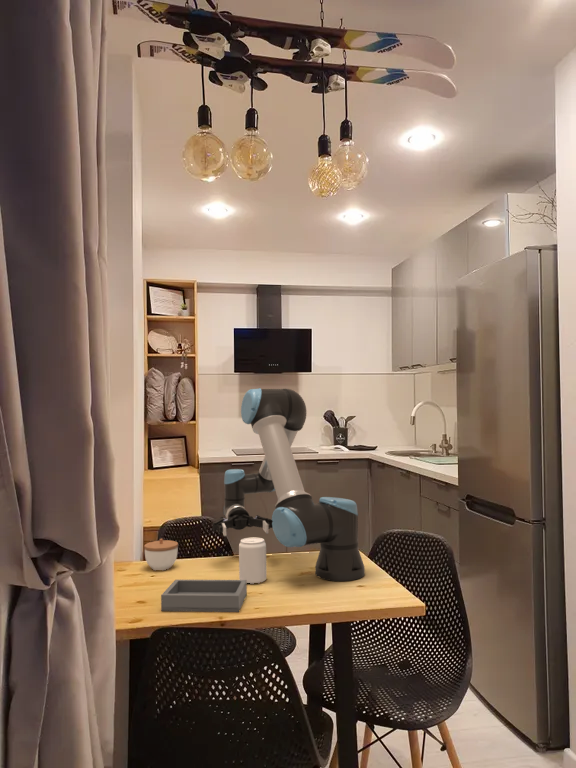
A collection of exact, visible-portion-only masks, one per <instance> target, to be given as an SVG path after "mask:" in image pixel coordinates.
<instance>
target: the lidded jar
mask: <svg viewBox="0 0 576 768" xmlns="http://www.w3.org/2000/svg"><path fill="white" fill-rule="evenodd" d="M143 547H144V548H143V549H144V557H145V558H144V559H145V561H146V564H147V565H148V566H149V567H150V568H151V570H152V569H153V571H156V570H162V571H167V570H170V569H171V568H172V566H173V565H174V564H175V562H176V561H177V558H178V551H179V550H178V549H179V542H177V541H176V540H175V541H174V540H168V539H167V540H166V539H165V540H164V538H159V540H154V541H150V542H147V543H146V544H144V546H143ZM169 568H170V569H169ZM166 569H167V570H166Z"/></svg>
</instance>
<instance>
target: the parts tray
mask: <svg viewBox="0 0 576 768" xmlns="http://www.w3.org/2000/svg"><path fill="white" fill-rule="evenodd" d="M247 585H248V584H247V580H240V579H175V580H174V581H173V582H172V583H171V584H170V585H169V586H168V587H167V588H166V589H165V590H164V591H163V592H162V594H161V596H160V599H161V600H160V606H161V608H160V610H161V612H195V613H196V612H197V613H198V612H199V613H200V612H205V613H206V612H211V613H212V612H213V611H214V612H213V613H216V612H218V613H221V612H222V613H223V612H224V613H225V612H227V613H239V612H240V611H241V608H242V607H243V604H244V602H243V601H245V600H246V597H247V595H248V594H247V593H248V592H247V591H248V587H247ZM244 599H245V600H244ZM239 610H240V611H239Z"/></svg>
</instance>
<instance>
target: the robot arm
mask: <svg viewBox="0 0 576 768" xmlns="http://www.w3.org/2000/svg"><path fill="white" fill-rule="evenodd" d="M241 401H242V402H241V408H240V413H241V419H242V422H243V423H244V424H245V425H251V429H252V432H253V433H255V434H257V435H258V436H259V441H260V443H261V446H262V450H263V453H264V457H263V459H262V461H261V465H260V467H259V470H258V472H257V473H254V472H253V473H245V470H244V469H241V468H239V469H238V468H234V469H233V468H231V469H227V470H226V471H225V472H224V478H223V479H224V480H223V485H224V500H223V503H224V505H223V510H222V511H223V515H224V516H221V517H220V518H219V519H217V520H216V521H213V522H212V531H213V532H216V531H218V532H217V533H218V534H223V535H222V536H223V537H227V530H229V529H234V530H237V531H242V530H244V529H245V528H246V527H247V528H252V527H256V528H261V529H262V530H263V532H265V534H269V530H270V529H272V531H273V534H274V535H275V538H276V539H277V541H278V542H279V543H280V544H281V545H283V546H284V547H286V548H301V547H304V546H310V545H317V544H320V549H319V553H318V557H317V559H316V562H315V567H314V568H315V569H314V570H315V576H316V577H318V578H320V579H322V580H326V581H330V582H331V581H333V582H347V581H356V580H358V579H359V580H360V579H362V578H363V577H364V576H365V575H366V573H365V571H366V570H365V565H364V562H363V561H364V560H363V558H362V555H361V553H360V550H359V524H358V523H359V522H358V518H359V513H358V512H359V511H358V505H357V503H356V501H355V500H351V499H350V498H349V499H348V498H342V497H335V496H333V497H331V496H322V497H320V498H319V500H318V503H314V499H313V497H312V495H311V494H310V493H308V492H306V491H305V488H304V485H303V482H302V478H301V476H300V472H299V470H298V466H297V463H296V460H295V458H294V457H295V456H294V454H293V451H292V448H291V447H292V445H293V443H294V441H295V439H296V437H297V434H298V432H299V431H302V430H303V428H304V425H305V423H306V419H307V406H306V402H305V400H304V399H303V397H302V396H301V395H300V394H299V393H298V392H297V391H295V390H293V389H290V388H261V387H259V388H251V389H248V390H246V392H245V394H244V395H243V397H242V400H241ZM272 492H275V495H276V497H277V502H276V504H275V505H274V510H273V512H272V516H271V518H268V517H264V516H261V515H259V514H257V515H256V516H255V517H254V516H252V515H250V514H249V512H248V511H247V509H246V508H245V507H246V506H245V498H246V495H248V494H249V495H251V494H260V493H272ZM224 517H225V518H224Z"/></svg>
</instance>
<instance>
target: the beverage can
mask: <svg viewBox="0 0 576 768" xmlns="http://www.w3.org/2000/svg"><path fill="white" fill-rule="evenodd" d="M238 567H239V568H238V569H239V570H238V571H239V572H238V573H239V574H238V575H239V578H238V580H247V583H250V584H249V585H255V584H254V583H258V584H261V583H263V582H265V581H266V580H267V578H268V577H267V576H268V575H267V544H266V541H265V539H264V538H262V537H255V536H254V537H253V536H252V537H245V538H241V539H240V542H239V544H238ZM260 582H261V583H260Z"/></svg>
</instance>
